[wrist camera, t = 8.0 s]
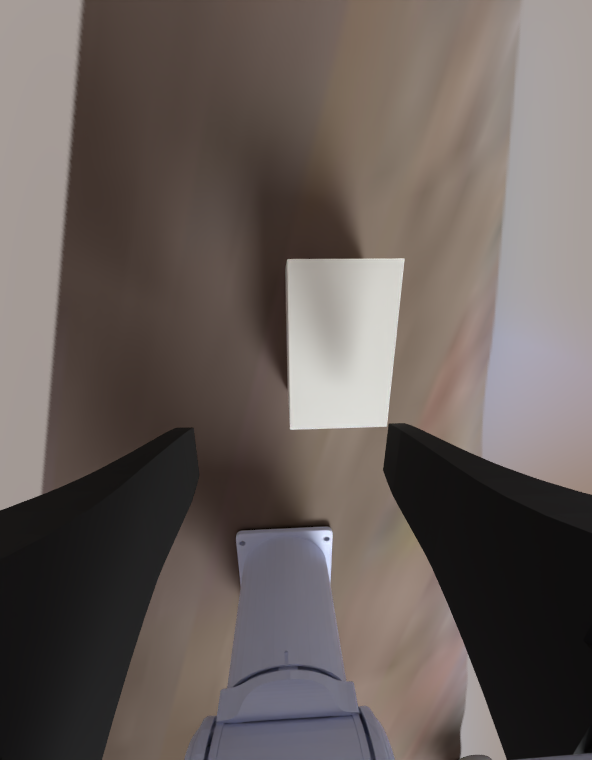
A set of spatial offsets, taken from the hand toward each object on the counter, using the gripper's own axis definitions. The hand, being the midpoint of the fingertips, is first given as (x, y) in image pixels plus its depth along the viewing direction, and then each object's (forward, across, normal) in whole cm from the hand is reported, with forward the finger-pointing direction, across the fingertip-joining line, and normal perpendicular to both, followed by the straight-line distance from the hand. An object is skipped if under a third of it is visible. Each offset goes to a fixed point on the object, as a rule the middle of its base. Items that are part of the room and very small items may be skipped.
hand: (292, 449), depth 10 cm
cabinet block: (+9, -2, -3) cm, 10 cm away
